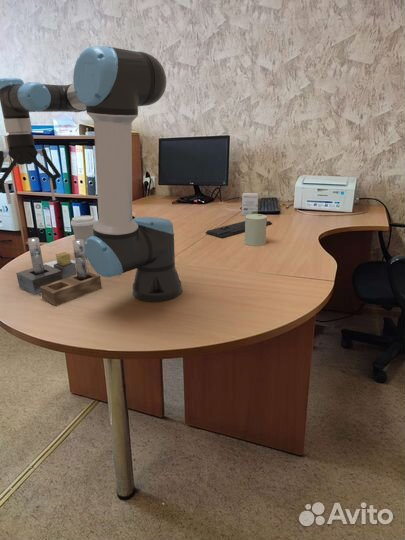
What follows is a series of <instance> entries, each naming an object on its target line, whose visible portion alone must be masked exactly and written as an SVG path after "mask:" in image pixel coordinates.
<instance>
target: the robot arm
mask: <svg viewBox="0 0 405 540" xmlns="http://www.w3.org/2000/svg"><path fill="white" fill-rule="evenodd" d="M72 78H73V79H72V80H73V83H71V84H65V85H64V84H63V85H62V84H45V83H40V82H37V81H36V82H35V81H32V82H31V81H27V82H24V80H23V79H21V78H15V77H4V78H2V77H1V78H0V107H1V111H2V116H3V124H4V128H5V132H6V133H7V136H6V138H7V142H8V148H9V149H8V150H9V151H7V150H0V173H1V172H2V168H3V165H4V163H5V159H6V158H7V157H8V156H9V157H10V158H11V159H12V161H11V163H10V164H9V166H8V167H7V169H6V170H5V172H4V173H3V175H2V176H1V178H0V190H1V193H2V194H5V195H6V200H7V204H8V205H10V204H12V198H11V194H10V189H9V184H8V182H6V180H7V179H8V177H9V175H10V174H11V172H12V171H13V169H14V168H15V166H16V165H20V166H22V165H31V164H34V165H36V166H37V167H38V169H40V170H41V171H42V172H43V173H44V174H45V175H46V176H47V177H49V178H50V179H49V180H48V181H49V186H50V191H51V198H52V201H56V196H55V191H54V190H57V189H58V187H57V179H59V178H61V173H60V171H59V170H58V169H57V166H55V164H54V163H53V162H52V160H51V159H50V157H49V156H48V152H47V150H46V148H42V149H37V148H36V145H35V139H34V135H33V134H32V132H33V129H32V128H33V127H32V122H31V121H32V120H31V117H30V113H39V112H40V113H42V112H43V113H45V112H46V113H49V112H51V113H53V112H54V113H55V112H56V113H58V112H60V113H63V112H64V113H65V112H66V113H81V112H86V114H87V115H88V116H89V117H90V119H91V120H92V121H93V127H94V128H93V129H94V130H93V131H94V133H93V135H94V148H95V149H94V152H95V169H96V171H95V172H96V191H97V193H96V195H97V210H98V212H97V213H98V219H97V220H96V223H95V224H94V225H93V236H91V237H89V238H88V239H87V240H86V242H85V253H86V260H87V261H88V263H89V265H90V267H91V268H92V269H93V270H94V272H95V273H96V274H97V275H98V276H100V277H103V278H113V277H116V276H121V275H123V274H125V273H128V272H131V271H133V270H136V272H135V276H134V279H133V280H134V281H133V283H132V289H131V290H132V295H133V296H134V297H135V298H136V299H138V300H140V301H144V302H150V303H151V302H163V301H164V302H165V301H169V300H172V299H175V298H176V297H178V296H179V295H180V294H181V293H182V291H183V290H182V289H183V288H182V287H183V286H182V285H183V284H182V281H181V280H180V276H179V274H178V272H177V268H176V259H175V258H176V257H175V254H176V253H175V232H174V226H173V225H174V224H173V222H172V221H171V220H170V219H167V218H163V217H157V216H139V217H135V218H133V165H132V164H133V159H132V158H133V157H132V155H133V153H132V152H133V151H132V150H133V149H132V148H133V147H132V146H133V143H132V142H133V141H132V137H133V135H132V123H133V122H134V121H135V120H136V119H137V117H139V107H147V106H151V105H154V104H155V103H157V102H158V101H159V100H160V99H162V97H163V96H164V94H165V91H166V89H167V76H166V72H165V69H164V67H163V65H162V63H161V62H160V61H159V60H158V59H157V58H156V57H155V56H154V55H151V54H150V53H148V52H144V51H135V50H131V49H130V50H128V49H125V48H118V47H113V46H107V45H105V46H97V45H92V46H88V47H87V48H85V49H84V50H83V51H82V52H80V55H79V57H77V60H76V61H75V64H74V69H73V76H72ZM38 155H39V156H41V157H43V158H44V160H45V161H46V163H47V164H48V165H49V167H50V168H51V170H52V171H53V173H52V172H51V171H50V170H49V169H48V168H47V167H45V166H44V164H42V163H41V162H40V161H39V160H38V159H37V158H36V157H37V156H38Z"/></svg>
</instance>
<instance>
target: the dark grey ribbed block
mask: <svg viewBox="0 0 405 540" xmlns="http://www.w3.org/2000/svg"><path fill="white" fill-rule="evenodd" d="M272 225H273V222H271V221H269V220H267V223H266V227H269V226H272ZM243 233H244V234H245V220H243V221H239V222H235V223H232V224H228V225H224V226H219V227H217V228H212V229H208V230H207V231H206V232H205V235H209V236H212V237H215V238H217V239H218V238H219V239H226V238H230V237H232V236H236V235H240V234H243Z"/></svg>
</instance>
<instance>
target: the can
mask: <svg viewBox="0 0 405 540" xmlns="http://www.w3.org/2000/svg"><path fill="white" fill-rule="evenodd" d="M244 219H245V220H244V221H245V232H244V244H245V245H246V246H252V247H260V246H265V245H266V244H267V226H266V223H267V221H268V216H267V215H265V214H261V213H258V214H249V215H246V216H244Z"/></svg>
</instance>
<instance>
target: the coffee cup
mask: <svg viewBox="0 0 405 540" xmlns="http://www.w3.org/2000/svg"><path fill="white" fill-rule="evenodd" d="M96 222H97V220H96V219H95V218H94V216H92V215H78V216H74V217H72V218H71V221H70V226H71V227H72V230H73V236H74V240H76V239H83V241H84V248H85V242H86V240H87V239H88V238H89V237H91V236H93V225H94V224H95V223H96ZM85 256H86V253H85Z"/></svg>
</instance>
